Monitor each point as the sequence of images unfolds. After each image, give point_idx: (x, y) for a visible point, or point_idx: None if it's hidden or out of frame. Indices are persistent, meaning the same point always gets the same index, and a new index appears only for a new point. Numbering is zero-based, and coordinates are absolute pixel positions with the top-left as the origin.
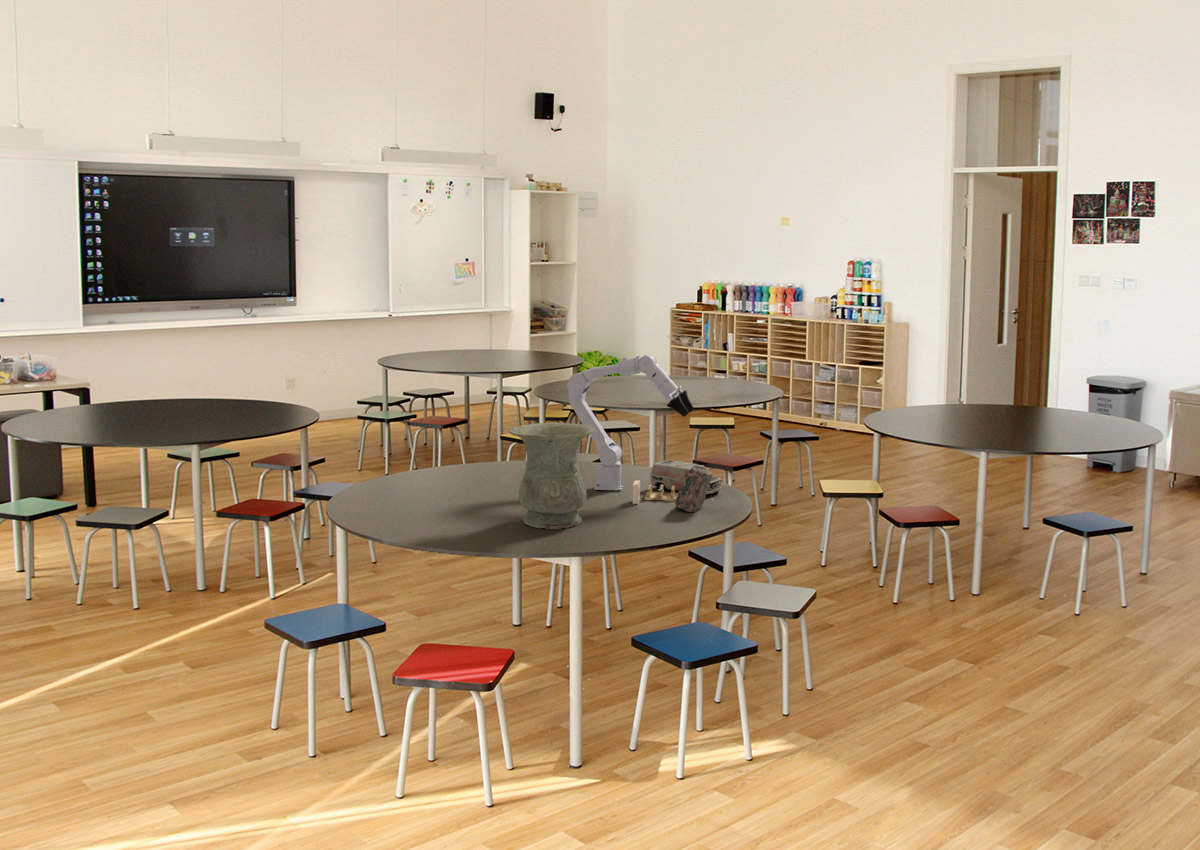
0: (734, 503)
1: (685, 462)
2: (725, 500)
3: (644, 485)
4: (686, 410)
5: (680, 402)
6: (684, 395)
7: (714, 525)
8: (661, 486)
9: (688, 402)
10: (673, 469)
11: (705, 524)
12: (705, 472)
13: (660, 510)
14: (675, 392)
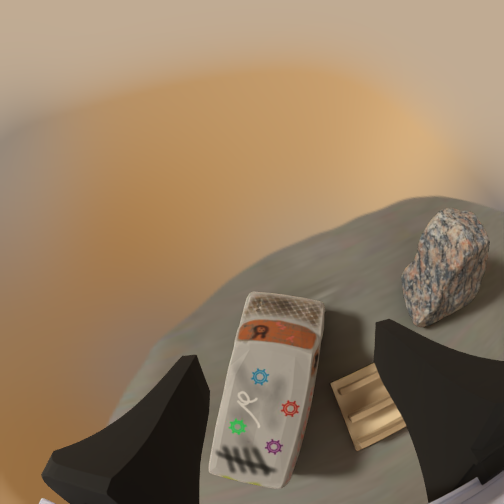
0: (332, 239)
1: (230, 406)
2: (316, 266)
3: (252, 495)
4: (407, 329)
5: (485, 361)
6: (146, 472)
7: (480, 208)
8: (376, 409)
9: (174, 409)
10: (302, 417)
11: (485, 221)
12: (465, 216)
13: (467, 338)
14: (501, 494)
